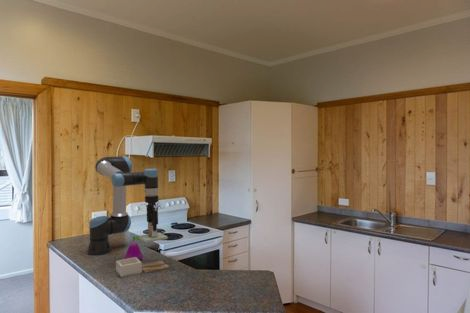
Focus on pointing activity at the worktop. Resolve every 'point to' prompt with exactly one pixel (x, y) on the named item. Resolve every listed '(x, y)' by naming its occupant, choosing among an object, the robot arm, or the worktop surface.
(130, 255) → the magenta low-poly plum
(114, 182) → the robot arm
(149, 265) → the mat
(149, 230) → the lid
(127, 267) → the white open box
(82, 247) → the worktop surface
